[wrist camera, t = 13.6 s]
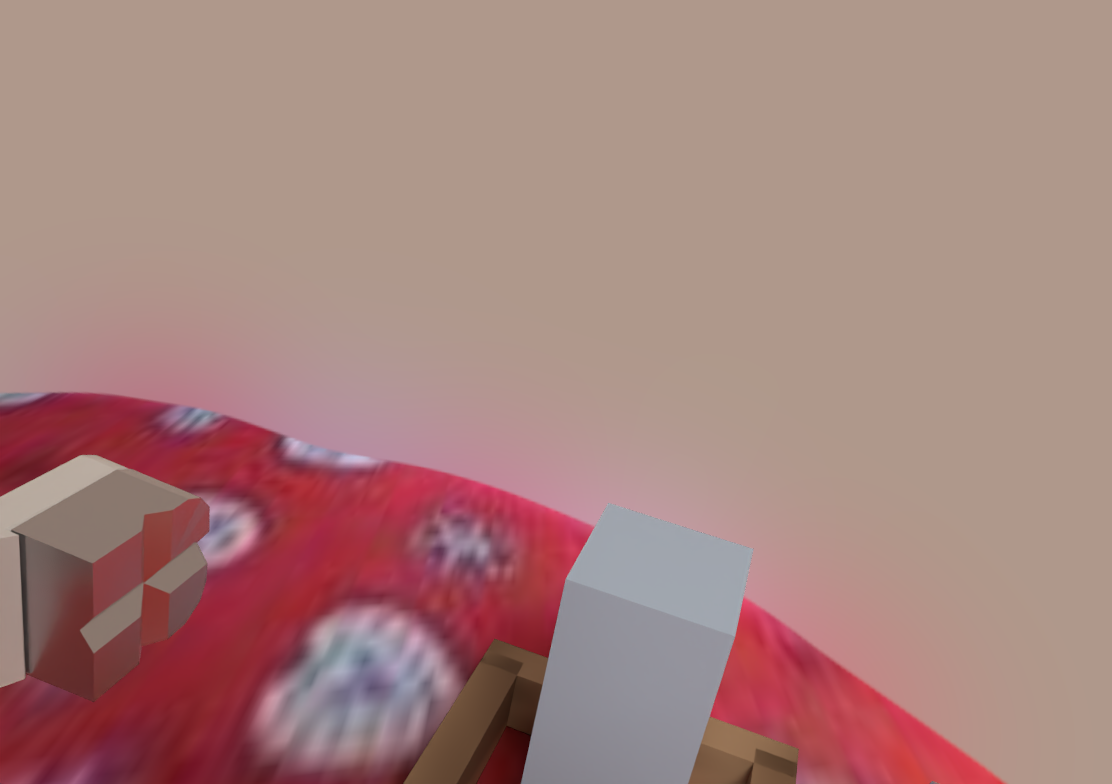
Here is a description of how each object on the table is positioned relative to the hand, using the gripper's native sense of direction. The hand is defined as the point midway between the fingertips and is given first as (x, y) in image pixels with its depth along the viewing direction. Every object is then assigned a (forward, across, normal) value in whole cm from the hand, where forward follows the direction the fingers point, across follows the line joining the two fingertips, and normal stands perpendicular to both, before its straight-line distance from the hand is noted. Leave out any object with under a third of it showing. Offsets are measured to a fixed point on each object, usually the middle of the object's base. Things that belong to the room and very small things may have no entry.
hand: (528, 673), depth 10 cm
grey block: (+14, -1, +19) cm, 24 cm away
